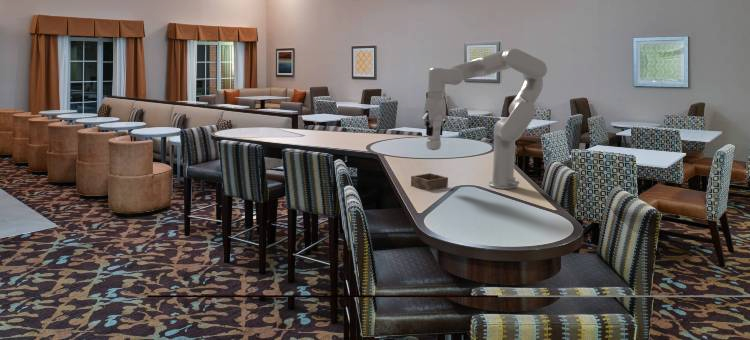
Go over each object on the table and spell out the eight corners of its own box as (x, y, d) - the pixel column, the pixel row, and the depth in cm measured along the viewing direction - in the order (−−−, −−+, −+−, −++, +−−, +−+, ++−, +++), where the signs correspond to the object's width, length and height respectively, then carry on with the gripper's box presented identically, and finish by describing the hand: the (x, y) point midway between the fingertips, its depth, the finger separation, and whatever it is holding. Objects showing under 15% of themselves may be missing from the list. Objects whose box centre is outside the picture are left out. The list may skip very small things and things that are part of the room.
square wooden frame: (447, 187, 265) (447, 177, 264) (428, 190, 258) (428, 180, 257) (429, 182, 275) (430, 173, 274) (410, 185, 267) (411, 176, 266)
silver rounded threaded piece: (427, 148, 267) (429, 105, 263) (441, 149, 265) (444, 106, 261) (424, 150, 261) (426, 106, 257) (439, 151, 259) (441, 107, 255)
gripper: (444, 94, 266) (441, 133, 270) (416, 95, 256) (414, 135, 260) (455, 95, 260) (453, 135, 264) (427, 96, 250) (425, 137, 254)
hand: (434, 134), depth 262 cm, fingers closed on silver rounded threaded piece, 5 cm apart
